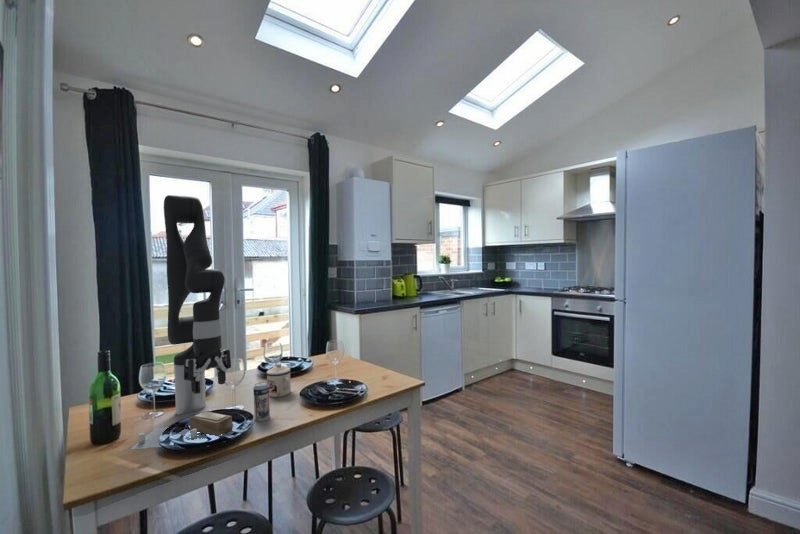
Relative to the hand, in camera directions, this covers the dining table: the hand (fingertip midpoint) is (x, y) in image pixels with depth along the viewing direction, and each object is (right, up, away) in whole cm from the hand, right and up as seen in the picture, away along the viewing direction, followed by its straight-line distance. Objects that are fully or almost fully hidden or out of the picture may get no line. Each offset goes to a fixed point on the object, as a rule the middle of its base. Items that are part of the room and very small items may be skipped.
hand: (209, 388), depth 109 cm
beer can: (+13, -13, +8) cm, 20 cm away
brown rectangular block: (0, -13, 0) cm, 13 cm away
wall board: (-6, -14, -3) cm, 15 cm away
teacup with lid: (+11, -13, +32) cm, 36 cm away
